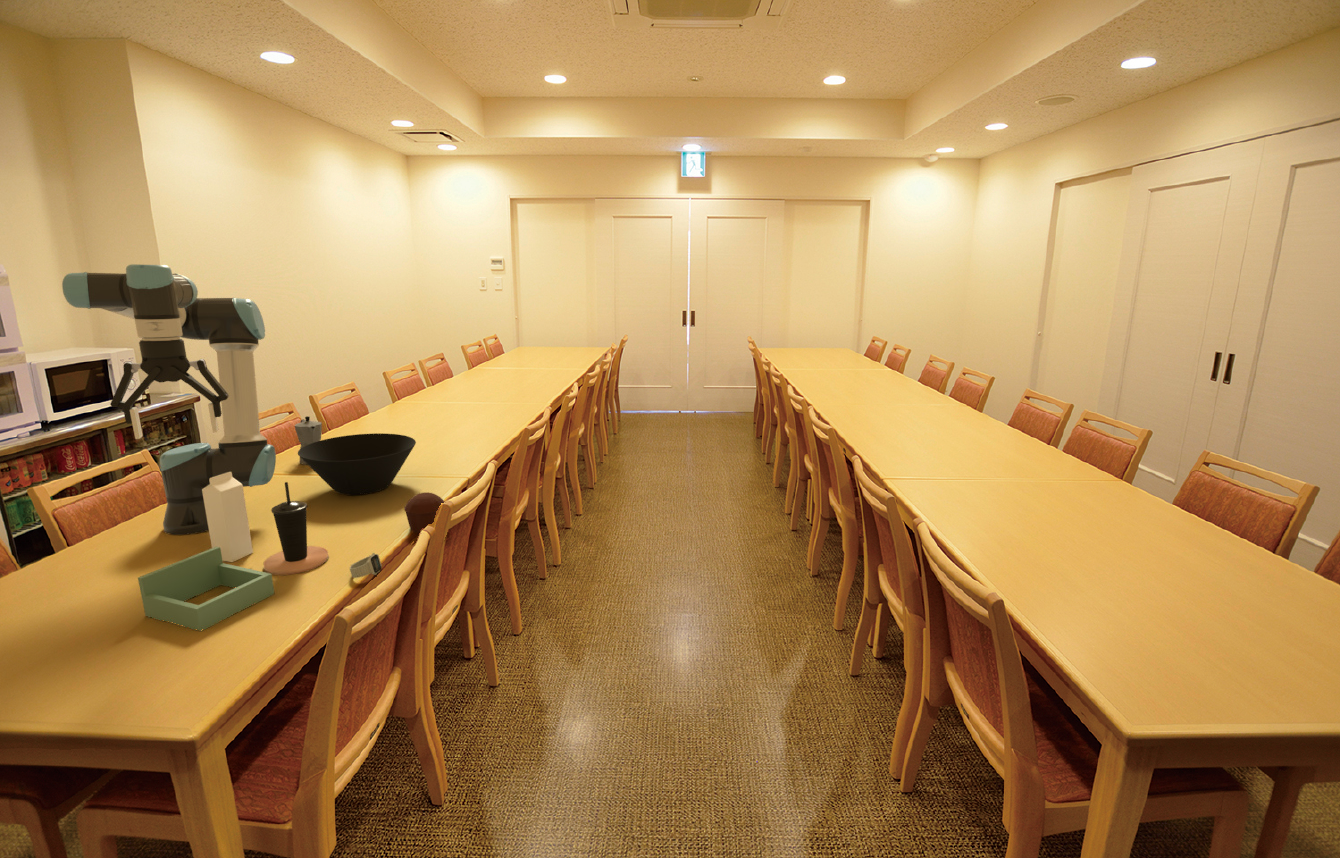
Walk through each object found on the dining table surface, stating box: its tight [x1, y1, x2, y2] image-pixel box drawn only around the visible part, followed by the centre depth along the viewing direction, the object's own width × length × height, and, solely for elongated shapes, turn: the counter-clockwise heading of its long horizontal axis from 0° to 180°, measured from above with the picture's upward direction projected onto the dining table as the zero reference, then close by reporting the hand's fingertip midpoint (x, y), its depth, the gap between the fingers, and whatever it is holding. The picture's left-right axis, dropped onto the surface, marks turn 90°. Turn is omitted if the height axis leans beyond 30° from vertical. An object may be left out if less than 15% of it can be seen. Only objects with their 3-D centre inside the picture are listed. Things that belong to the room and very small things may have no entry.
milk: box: [202, 472, 254, 563], centre depth 156 cm, size 6×6×22 cm
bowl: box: [297, 432, 417, 496], centre depth 209 cm, size 36×36×15 cm
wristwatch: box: [348, 552, 382, 579], centre depth 150 cm, size 9×6×5 cm
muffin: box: [403, 492, 445, 534], centre depth 177 cm, size 12×11×10 cm
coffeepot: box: [294, 416, 322, 466], centre depth 238 cm, size 15×9×18 cm, turn 44°
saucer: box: [263, 545, 329, 576], centre depth 155 cm, size 14×14×1 cm
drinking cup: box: [270, 481, 308, 562], centre depth 153 cm, size 8×8×20 cm
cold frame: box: [137, 547, 275, 632], centre depth 134 cm, size 16×16×9 cm
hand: (178, 434), depth 137 cm, fingers open, 13 cm apart
